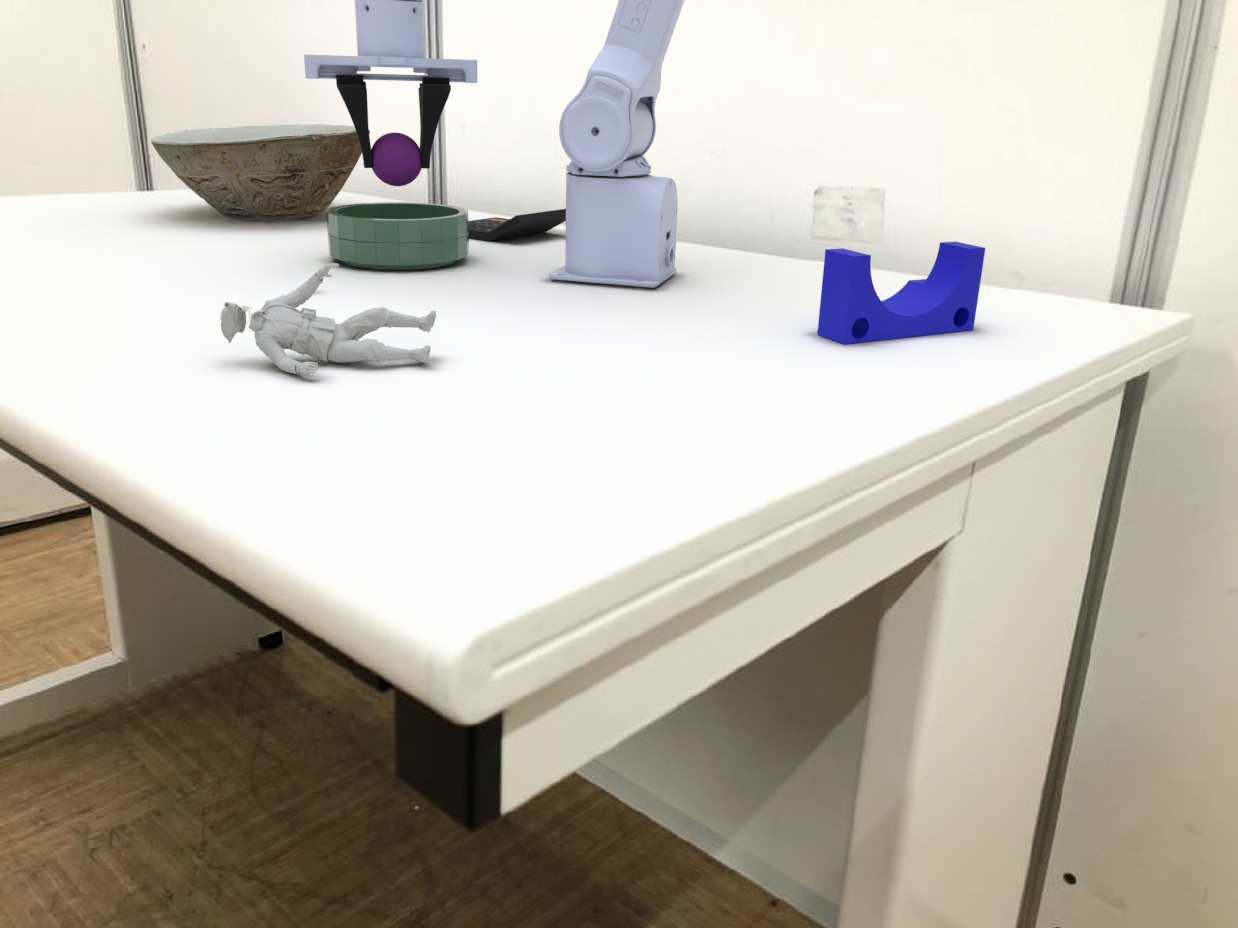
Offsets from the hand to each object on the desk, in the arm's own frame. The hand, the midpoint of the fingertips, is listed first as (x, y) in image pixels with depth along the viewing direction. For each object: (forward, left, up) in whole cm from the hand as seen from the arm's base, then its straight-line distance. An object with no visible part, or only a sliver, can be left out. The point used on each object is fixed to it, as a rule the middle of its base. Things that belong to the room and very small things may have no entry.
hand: (396, 167), depth 95 cm
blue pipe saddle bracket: (-45, +10, -9) cm, 46 cm away
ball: (0, 0, +1) cm, 1 cm away
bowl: (+27, -21, -9) cm, 36 cm away
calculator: (-3, -20, -9) cm, 22 cm away
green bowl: (0, -1, -8) cm, 8 cm away
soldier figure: (-13, +33, -9) cm, 36 cm away
